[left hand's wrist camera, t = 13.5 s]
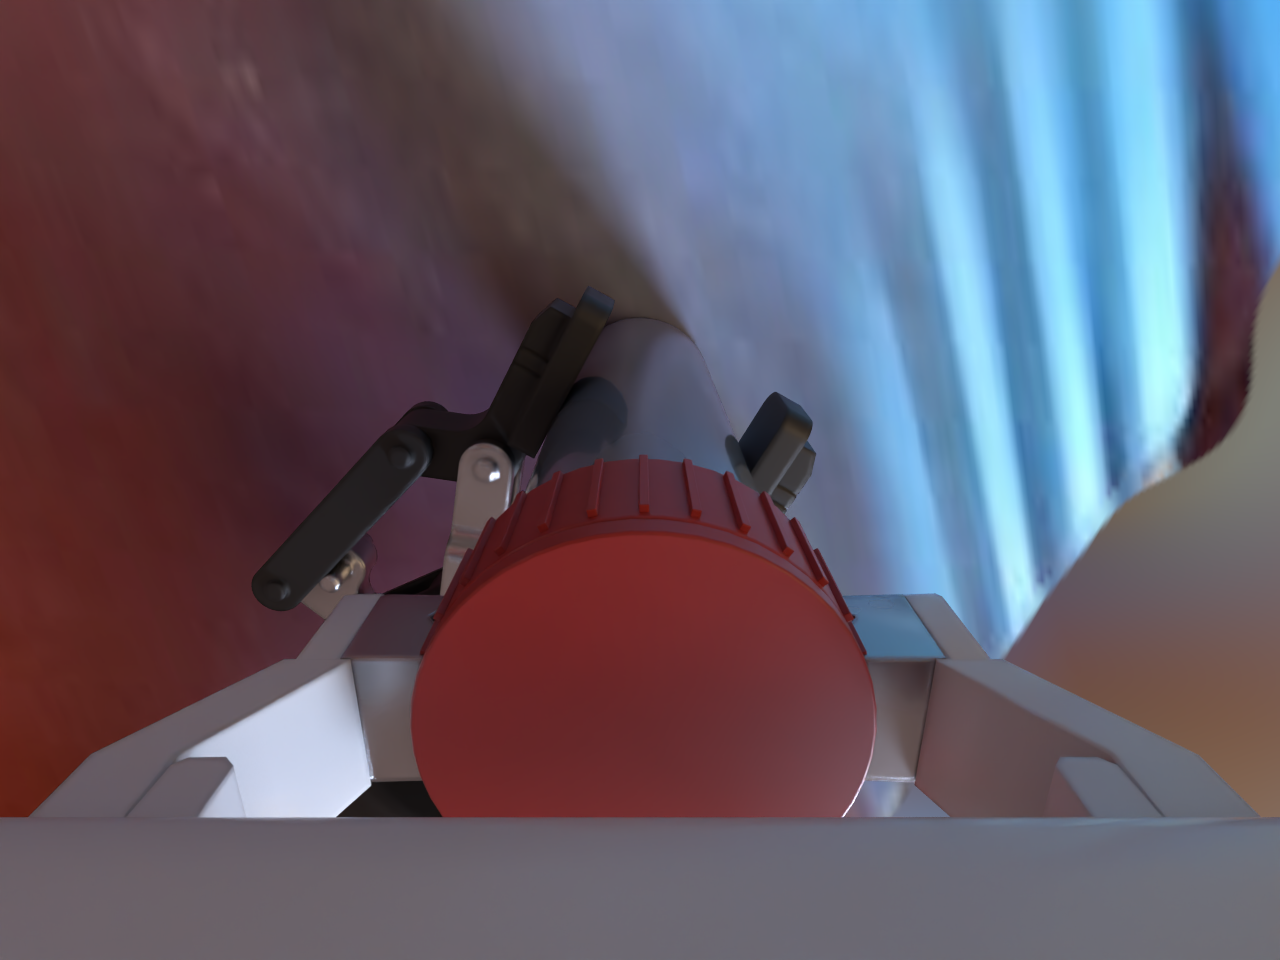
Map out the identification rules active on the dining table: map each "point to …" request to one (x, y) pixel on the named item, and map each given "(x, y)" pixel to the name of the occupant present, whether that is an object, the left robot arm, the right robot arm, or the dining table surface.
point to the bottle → (642, 406)
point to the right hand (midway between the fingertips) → (696, 355)
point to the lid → (643, 658)
